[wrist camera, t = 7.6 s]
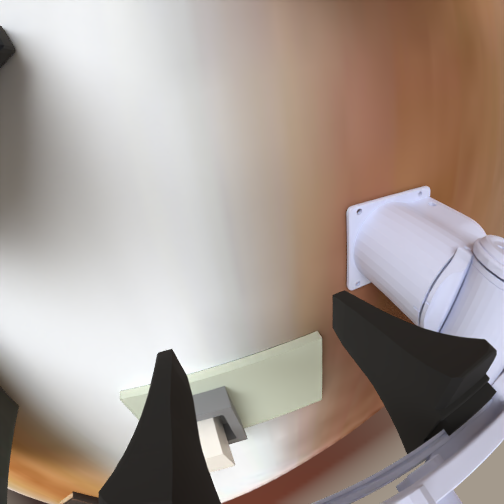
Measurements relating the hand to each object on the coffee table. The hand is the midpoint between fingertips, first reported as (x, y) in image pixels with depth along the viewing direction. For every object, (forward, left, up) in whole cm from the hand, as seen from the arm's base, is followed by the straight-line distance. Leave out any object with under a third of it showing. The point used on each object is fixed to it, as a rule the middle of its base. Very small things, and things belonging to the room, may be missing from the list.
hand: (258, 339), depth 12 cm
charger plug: (+7, +18, -8) cm, 21 cm away
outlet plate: (+3, +18, -9) cm, 21 cm away
